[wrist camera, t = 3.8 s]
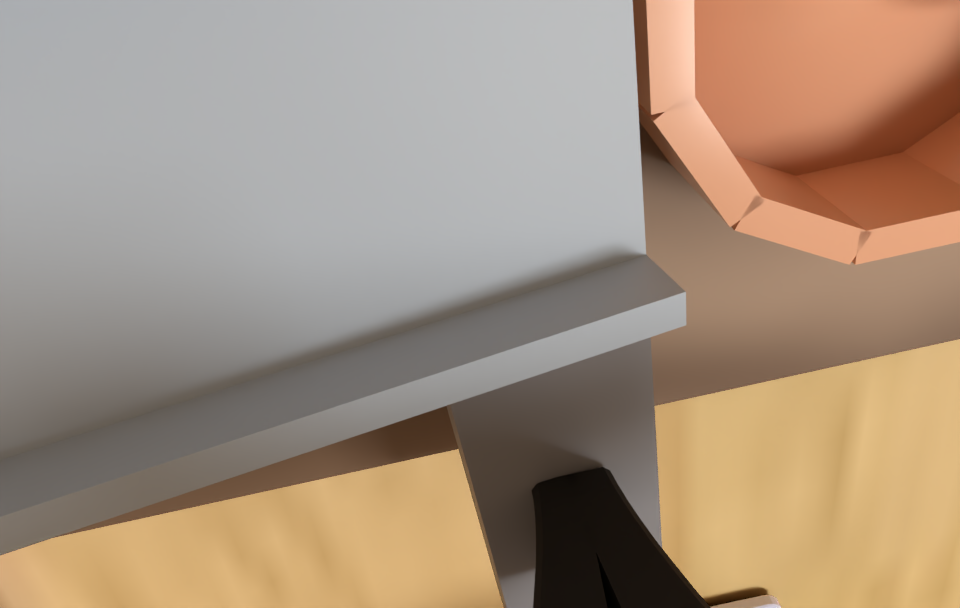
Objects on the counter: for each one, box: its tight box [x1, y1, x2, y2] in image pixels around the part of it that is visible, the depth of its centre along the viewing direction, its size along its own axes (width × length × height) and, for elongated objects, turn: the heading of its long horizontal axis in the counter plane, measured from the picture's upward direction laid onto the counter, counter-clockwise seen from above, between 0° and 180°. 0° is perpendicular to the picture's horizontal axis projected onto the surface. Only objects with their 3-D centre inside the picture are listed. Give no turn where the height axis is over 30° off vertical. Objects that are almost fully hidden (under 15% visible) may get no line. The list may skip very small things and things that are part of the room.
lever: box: [0, 0, 686, 608], centre depth 9 cm, size 13×15×4 cm
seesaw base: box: [53, 122, 960, 538], centre depth 11 cm, size 14×26×4 cm, turn 100°
